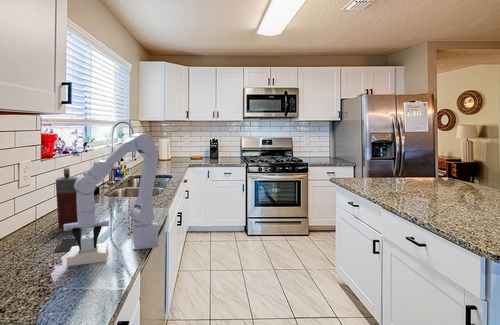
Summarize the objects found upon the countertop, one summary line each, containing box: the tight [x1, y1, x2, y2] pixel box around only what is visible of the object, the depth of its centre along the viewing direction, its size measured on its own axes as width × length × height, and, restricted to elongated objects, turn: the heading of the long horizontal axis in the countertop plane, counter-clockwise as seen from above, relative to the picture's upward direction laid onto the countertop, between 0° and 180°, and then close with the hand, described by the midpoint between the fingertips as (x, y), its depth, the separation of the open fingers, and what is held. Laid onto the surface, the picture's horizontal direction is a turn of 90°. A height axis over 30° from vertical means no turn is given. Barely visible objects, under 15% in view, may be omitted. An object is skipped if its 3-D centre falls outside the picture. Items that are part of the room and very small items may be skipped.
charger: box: [81, 234, 95, 253], centre depth 121 cm, size 4×4×6 cm
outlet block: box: [66, 242, 109, 267], centre depth 122 cm, size 12×12×3 cm
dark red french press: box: [55, 167, 79, 230], centre depth 164 cm, size 9×11×28 cm
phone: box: [54, 237, 79, 253], centre depth 136 cm, size 8×1×15 cm
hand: (88, 247), depth 122 cm, fingers closed on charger, 4 cm apart
